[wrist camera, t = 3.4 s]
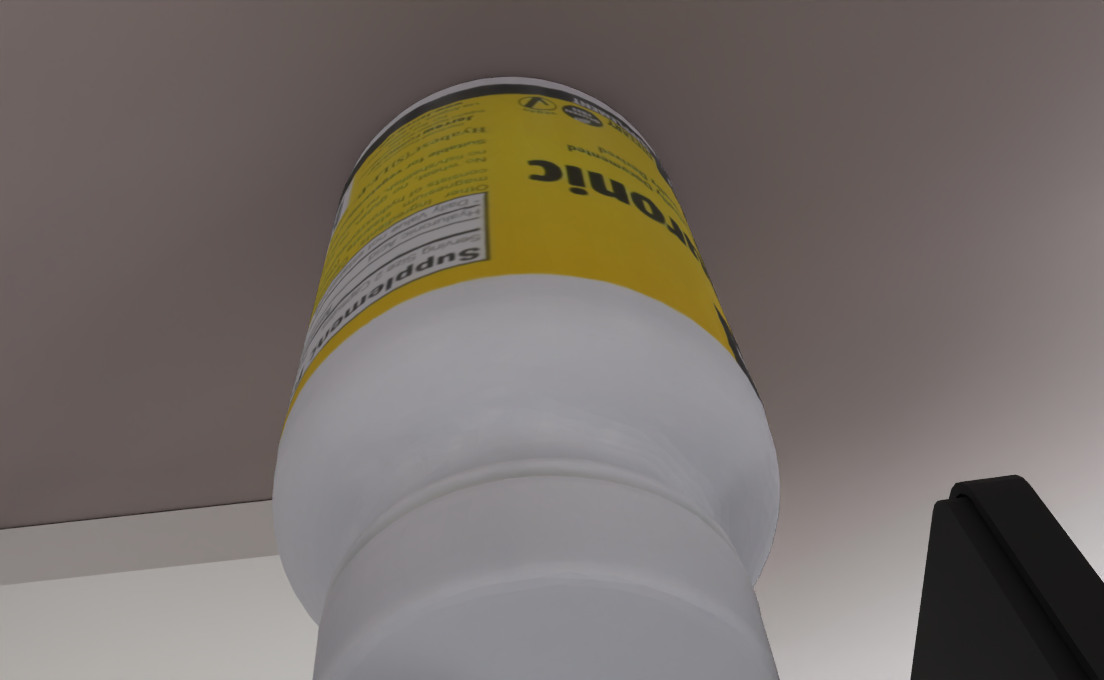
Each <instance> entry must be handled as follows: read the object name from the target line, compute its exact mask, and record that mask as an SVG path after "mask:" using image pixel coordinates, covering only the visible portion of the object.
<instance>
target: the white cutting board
mask: <svg viewBox="0 0 1104 680" xmlns="http://www.w3.org/2000/svg"><path fill="white" fill-rule="evenodd" d="M318 629H319V626H318V625H317V624H316V623H315V622H314V621H313V620H312V618H311V617H310V616H309V615H308V613H307V611H306V610H305V608H304V607H303V605H302V604H301V602H300V601H299V599H298V598H297V596H296V594H295V593H294V591H293V589H292V587H291V584H290V582H289V580H288V578H287V576H286V573H285V571H284V568H283V565H282V562H281V559H280V555H279V552H278V548H277V544H276V539H275V532H274V526H273V509H272V500H269V501H259V502H250V503H241V504H232V505H223V506H214V507H204V508H195V509H186V510H177V511H168V512H159V513H149V514H140V515H131V516H122V517H113V518H104V519H94V520H85V521H76V522H67V523H58V524H49V525H39V526H30V527H21V528H12V529H3V530H0V680H312V679H313V671H314V663H315V655H316V647H317V639H318Z"/></svg>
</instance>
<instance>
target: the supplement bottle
mask: <svg viewBox="0 0 1104 680" xmlns="http://www.w3.org/2000/svg"><path fill="white" fill-rule="evenodd" d="M779 504H780V475H779V468H778V461H777V455H776V449H775V446H774V442H773V439H772V435H771V432H770V429H769V426H768V422H767V419H766V415H765V411H764V406H763V403H762V401H761V399H760V397H759V395H758V393H757V390H756V388H755V386H754V384H753V381H752V379H751V377H750V374H749V372H748V370H747V367H746V365H745V363H744V360H743V358H742V355H741V353H740V350H739V348H738V345H737V343H736V341H735V339H734V337H733V334H732V332H731V329H730V327H729V325H728V322H727V320H726V318H725V315H724V313H723V310H722V308H721V305H720V303H719V300H718V297H717V295H716V293H715V290H714V288H713V285H712V283H711V281H710V278H709V276H708V273H707V271H706V268H705V265H704V263H703V260H702V258H701V255H700V253H699V251H698V248H697V246H696V243H695V241H694V239H693V236H692V234H691V231H690V229H689V226H688V224H687V221H686V218H685V216H684V213H683V211H682V208H681V206H680V204H679V201H678V199H677V196H676V194H675V191H674V189H673V186H672V184H671V182H670V179H669V177H668V175H667V174H666V172H665V170H664V168H663V166H662V165H661V163H660V161H659V159H658V158H657V156H656V154H655V153H654V151H653V150H652V148H651V147H650V146H649V144H648V143H647V142H646V140H645V139H644V138H643V137H642V136H641V134H640V133H639V132H638V131H637V130H636V129H635V128H634V127H633V126H632V125H631V124H630V123H629V122H628V121H627V120H626V119H625V118H624V117H623V116H621V115H620V114H618V113H617V112H616V111H614V110H613V109H611V108H610V107H608V106H607V105H606V104H604V103H602V102H601V101H599V100H597V99H595V98H594V97H591V96H589V95H587V94H585V93H583V92H580V91H578V90H576V89H573V88H570V87H568V86H565V85H562V84H558V83H554V82H550V81H546V80H542V79H535V78H525V77H497V78H485V79H479V80H475V81H470V82H465V83H461V84H458V85H455V86H452V87H449V88H447V89H444V90H441V91H439V92H436V93H434V94H432V95H430V96H428V97H426V98H424V99H422V100H420V101H418V102H416V103H415V104H413V105H412V106H410V107H409V108H407V109H406V110H404V111H403V112H401V113H400V114H399V115H398V116H397V117H396V118H395V119H393V120H392V121H391V122H390V123H389V124H388V125H387V126H385V127H384V128H383V129H382V130H381V131H380V132H379V133H378V134H377V135H376V136H375V137H374V138H373V140H372V141H371V142H370V144H369V145H368V146H367V148H366V149H365V150H364V152H363V153H362V155H361V156H360V158H359V159H358V161H357V163H356V165H355V166H354V168H353V170H352V172H351V174H350V177H349V179H348V181H347V183H346V185H345V188H344V190H343V193H342V196H341V199H340V203H339V206H338V210H337V214H336V218H335V222H334V226H333V230H332V234H331V238H330V242H329V246H328V250H327V254H326V258H325V263H324V267H323V271H322V275H321V279H320V283H319V287H318V291H317V295H316V300H315V304H314V308H313V311H312V315H311V319H310V323H309V327H308V331H307V335H306V339H305V343H304V347H303V352H302V356H301V359H300V363H299V368H298V373H297V376H296V379H295V383H294V387H293V391H292V395H291V398H290V402H289V407H288V411H287V415H286V418H285V422H284V425H283V429H282V433H281V438H280V442H279V447H278V455H277V463H276V469H275V474H274V484H273V497H272V509H273V526H274V532H275V539H276V544H277V548H278V552H279V555H280V559H281V562H282V565H283V568H284V571H285V573H286V576H287V578H288V580H289V582H290V584H291V587H292V589H293V591H294V593H295V594H296V596H297V598H298V599H299V601H300V602H301V604H302V605H303V607H304V608H305V610H306V611H307V613H308V615H309V616H310V617H311V618H312V620H313V621H314V622H315V623H316V624H317V625H318V626H319V629H318V639H317V647H316V655H315V663H314V671H313V679H312V680H780V679H779V676H778V672H777V669H776V665H775V662H774V658H773V654H772V651H771V648H770V644H769V641H768V638H767V635H766V631H765V628H764V625H763V621H762V618H761V613H760V608H759V604H758V601H757V598H756V594H755V591H754V588H753V587H754V585H755V583H756V581H757V579H758V577H759V576H760V574H761V571H762V569H763V567H764V564H765V562H766V559H767V557H768V555H769V552H770V550H771V547H772V543H773V539H774V535H775V531H776V526H777V521H778V515H779Z"/></svg>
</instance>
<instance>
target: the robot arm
mask: <svg viewBox="0 0 1104 680" xmlns="http://www.w3.org/2000/svg"><path fill="white" fill-rule="evenodd" d="M911 680H1104V583H1103V581H1102V580H1101V579H1100V577H1099V576H1098V575H1097V573H1096V572H1095V571H1094V569H1093V568H1092V567H1091V565H1090V564H1089V563H1088V561H1087V560H1086V559H1085V557H1084V556H1083V555H1082V553H1081V552H1080V551H1079V549H1078V548H1077V547H1076V545H1075V544H1074V543H1073V541H1072V540H1071V539H1070V537H1069V536H1068V535H1067V533H1066V532H1065V531H1064V529H1063V528H1062V527H1061V525H1060V524H1059V523H1058V521H1057V520H1056V519H1055V517H1054V516H1053V515H1052V513H1051V512H1050V511H1049V509H1048V508H1047V507H1046V505H1045V504H1044V503H1043V501H1042V500H1041V499H1040V498H1039V496H1038V495H1037V494H1036V492H1035V491H1034V490H1033V488H1032V487H1031V486H1030V484H1029V483H1028V482H1027V481H1026V480H1025V479H1024V478H1023V477H1020V476H1018V475H1010V476H1002V477H995V478H987V479H979V480H972V481H964V482H959V483H955V485H954V486H953V488H952V489H951V493H950V497H949V499H946V500H940V501H937V502H936V504H935V505H934V509H933V515H932V522H931V530H930V537H929V545H928V552H927V560H926V567H925V575H924V582H923V590H922V597H921V605H920V612H919V620H918V627H917V635H916V642H915V650H914V657H913V665H912V672H911Z"/></svg>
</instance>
